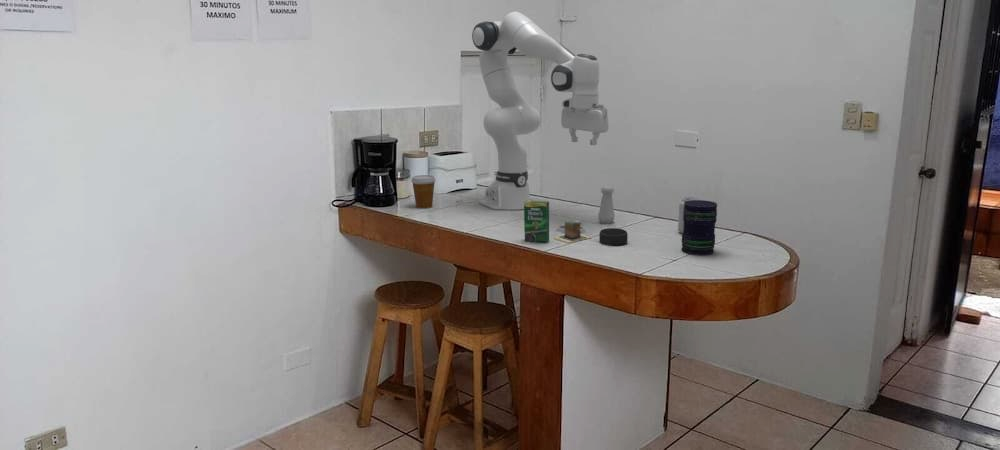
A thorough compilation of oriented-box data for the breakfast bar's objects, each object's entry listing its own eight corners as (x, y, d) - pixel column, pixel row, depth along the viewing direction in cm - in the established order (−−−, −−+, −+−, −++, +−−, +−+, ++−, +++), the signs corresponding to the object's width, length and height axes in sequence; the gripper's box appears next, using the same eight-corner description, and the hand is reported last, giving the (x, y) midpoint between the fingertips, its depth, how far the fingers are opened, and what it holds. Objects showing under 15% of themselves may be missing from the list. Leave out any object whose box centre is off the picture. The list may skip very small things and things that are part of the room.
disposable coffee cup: (423, 203, 289) (422, 174, 286) (441, 206, 283) (440, 176, 280) (407, 207, 281) (406, 177, 278) (425, 210, 276) (424, 179, 273)
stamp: (572, 235, 236) (573, 219, 235) (581, 237, 233) (581, 221, 231) (563, 237, 234) (564, 221, 232) (572, 239, 230) (572, 223, 229)
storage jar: (694, 257, 212) (697, 207, 208) (674, 249, 220) (676, 201, 217) (721, 253, 216) (724, 205, 212) (700, 245, 224) (703, 199, 221)
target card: (554, 238, 233) (554, 237, 233) (576, 234, 239) (576, 232, 239) (568, 243, 228) (568, 241, 227) (591, 238, 233) (591, 236, 233)
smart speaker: (621, 247, 222) (622, 235, 222) (595, 244, 227) (595, 232, 226) (631, 241, 230) (631, 229, 229) (605, 238, 234) (605, 226, 233)
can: (685, 229, 245) (687, 195, 242) (704, 233, 240) (707, 198, 237) (673, 233, 240) (675, 198, 237) (693, 237, 235) (695, 201, 232)
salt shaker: (614, 224, 252) (615, 188, 249) (597, 223, 253) (598, 187, 250) (614, 220, 257) (616, 185, 254) (598, 220, 258) (599, 184, 255)
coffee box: (523, 240, 231) (523, 201, 227) (526, 238, 233) (526, 199, 230) (546, 243, 227) (547, 203, 224) (549, 241, 230) (550, 201, 227)
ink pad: (556, 230, 244) (556, 226, 243) (570, 227, 247) (570, 223, 247) (571, 234, 238) (571, 230, 237) (585, 232, 241) (585, 227, 241)
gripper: (613, 104, 237) (611, 146, 240) (572, 100, 253) (570, 139, 256) (599, 105, 233) (598, 147, 237) (558, 101, 249) (557, 141, 253)
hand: (583, 143), depth 247 cm, fingers open, 8 cm apart
